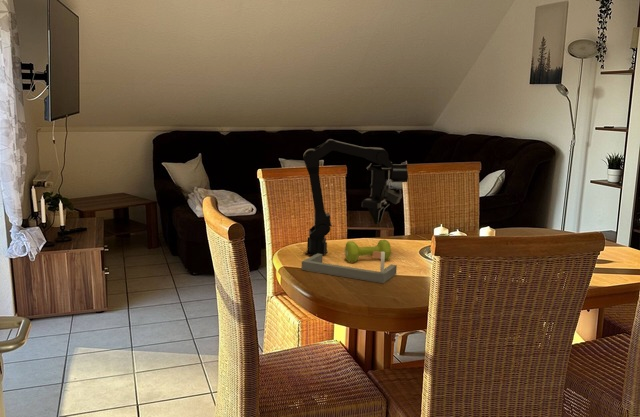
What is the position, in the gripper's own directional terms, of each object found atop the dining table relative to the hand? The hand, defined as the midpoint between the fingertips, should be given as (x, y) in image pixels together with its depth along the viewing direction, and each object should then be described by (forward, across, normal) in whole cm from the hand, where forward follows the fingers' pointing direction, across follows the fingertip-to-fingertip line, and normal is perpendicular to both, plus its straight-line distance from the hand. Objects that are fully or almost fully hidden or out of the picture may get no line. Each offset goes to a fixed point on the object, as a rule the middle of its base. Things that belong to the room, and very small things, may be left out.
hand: (377, 223), depth 223 cm
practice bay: (+12, -26, 0) cm, 29 cm away
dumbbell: (+12, -9, 0) cm, 15 cm away
